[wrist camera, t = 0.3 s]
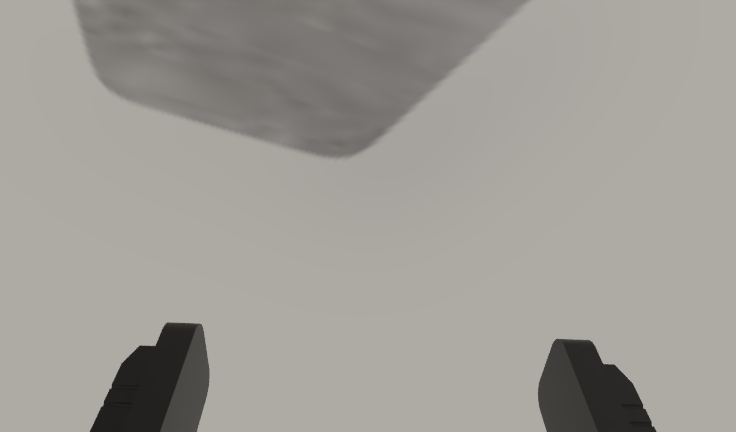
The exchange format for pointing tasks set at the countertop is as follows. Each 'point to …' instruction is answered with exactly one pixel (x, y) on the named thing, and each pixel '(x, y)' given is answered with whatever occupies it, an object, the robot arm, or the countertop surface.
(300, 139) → the countertop surface
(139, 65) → the countertop surface
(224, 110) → the countertop surface
